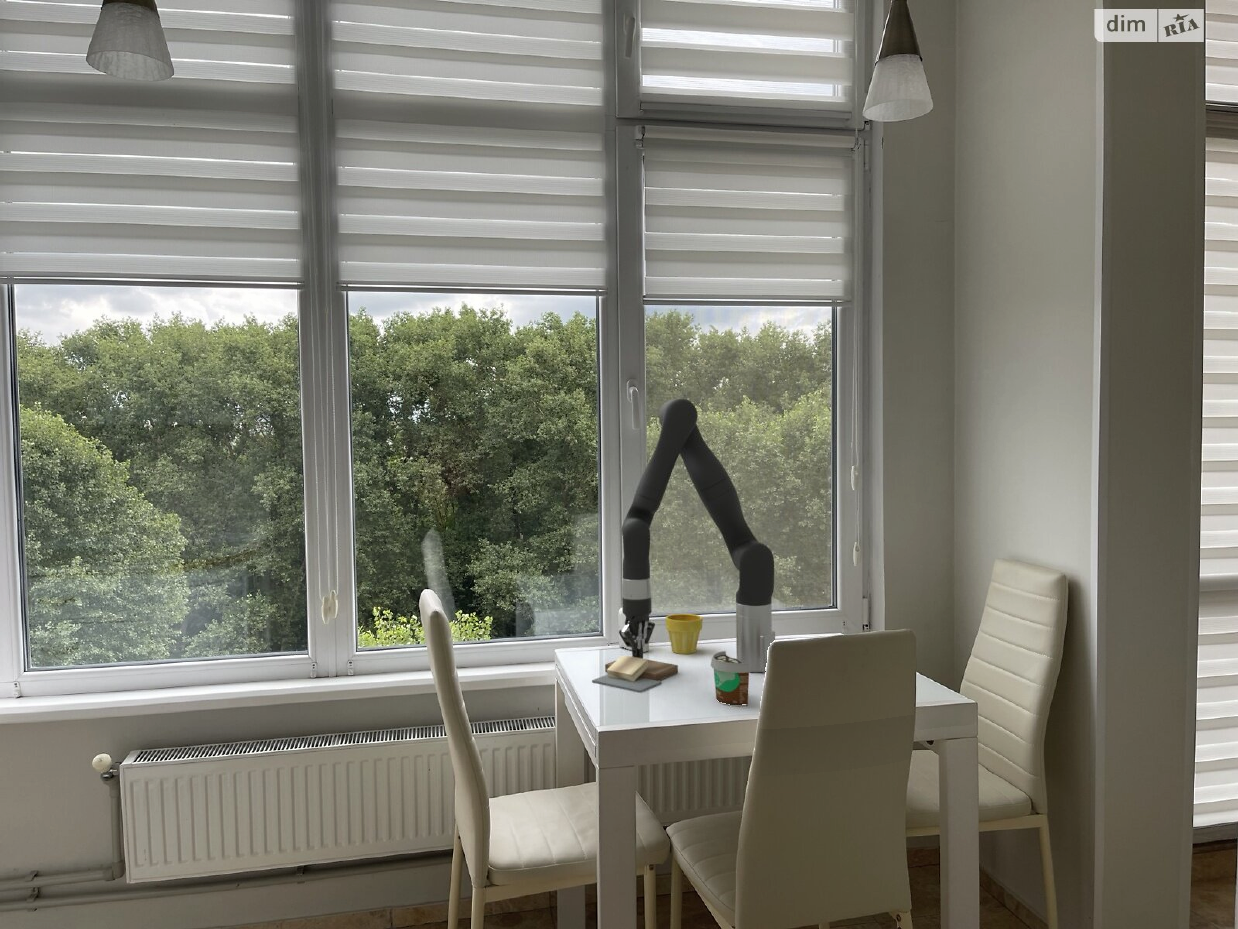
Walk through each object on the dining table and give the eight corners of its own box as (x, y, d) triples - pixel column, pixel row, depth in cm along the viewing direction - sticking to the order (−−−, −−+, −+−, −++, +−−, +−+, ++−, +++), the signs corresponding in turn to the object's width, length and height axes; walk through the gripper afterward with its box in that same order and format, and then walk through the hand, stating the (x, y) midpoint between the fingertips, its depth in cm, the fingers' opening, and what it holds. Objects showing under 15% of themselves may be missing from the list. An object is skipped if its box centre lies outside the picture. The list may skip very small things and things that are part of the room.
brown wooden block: (677, 672, 221) (677, 665, 221) (655, 682, 213) (655, 674, 213) (628, 663, 231) (628, 656, 231) (605, 672, 223) (605, 664, 223)
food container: (701, 695, 202) (701, 653, 202) (725, 692, 204) (724, 650, 204) (726, 710, 191) (726, 666, 190) (751, 707, 193) (750, 663, 192)
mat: (661, 683, 212) (661, 681, 212) (640, 692, 205) (640, 690, 205) (613, 674, 221) (613, 672, 221) (592, 682, 214) (592, 680, 214)
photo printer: (616, 647, 249) (615, 605, 248) (627, 644, 252) (627, 602, 251) (639, 654, 241) (639, 610, 240) (651, 651, 244) (650, 608, 243)
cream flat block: (649, 666, 217) (647, 659, 217) (633, 681, 212) (632, 674, 212) (624, 661, 222) (622, 654, 222) (608, 676, 217) (606, 669, 217)
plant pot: (701, 646, 248) (701, 613, 247) (703, 655, 238) (703, 620, 237) (665, 646, 248) (665, 613, 248) (666, 656, 238) (665, 621, 238)
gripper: (632, 601, 213) (634, 670, 213) (663, 592, 223) (664, 658, 224) (609, 598, 217) (610, 665, 218) (640, 590, 228) (641, 654, 228)
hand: (637, 662), depth 221 cm, fingers closed
